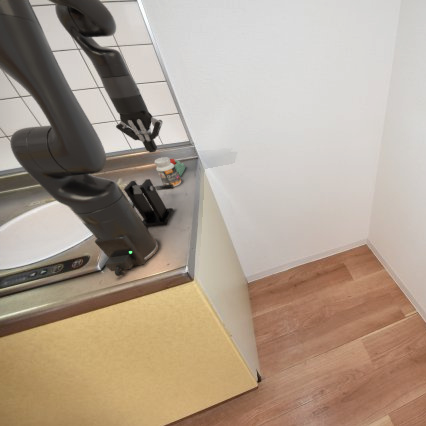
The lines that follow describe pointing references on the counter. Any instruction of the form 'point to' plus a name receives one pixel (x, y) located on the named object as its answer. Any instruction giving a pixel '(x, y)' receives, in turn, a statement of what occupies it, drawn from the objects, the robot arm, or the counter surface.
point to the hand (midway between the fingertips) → (153, 151)
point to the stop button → (172, 161)
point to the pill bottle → (167, 171)
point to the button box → (179, 167)
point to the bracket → (150, 215)
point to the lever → (138, 191)
